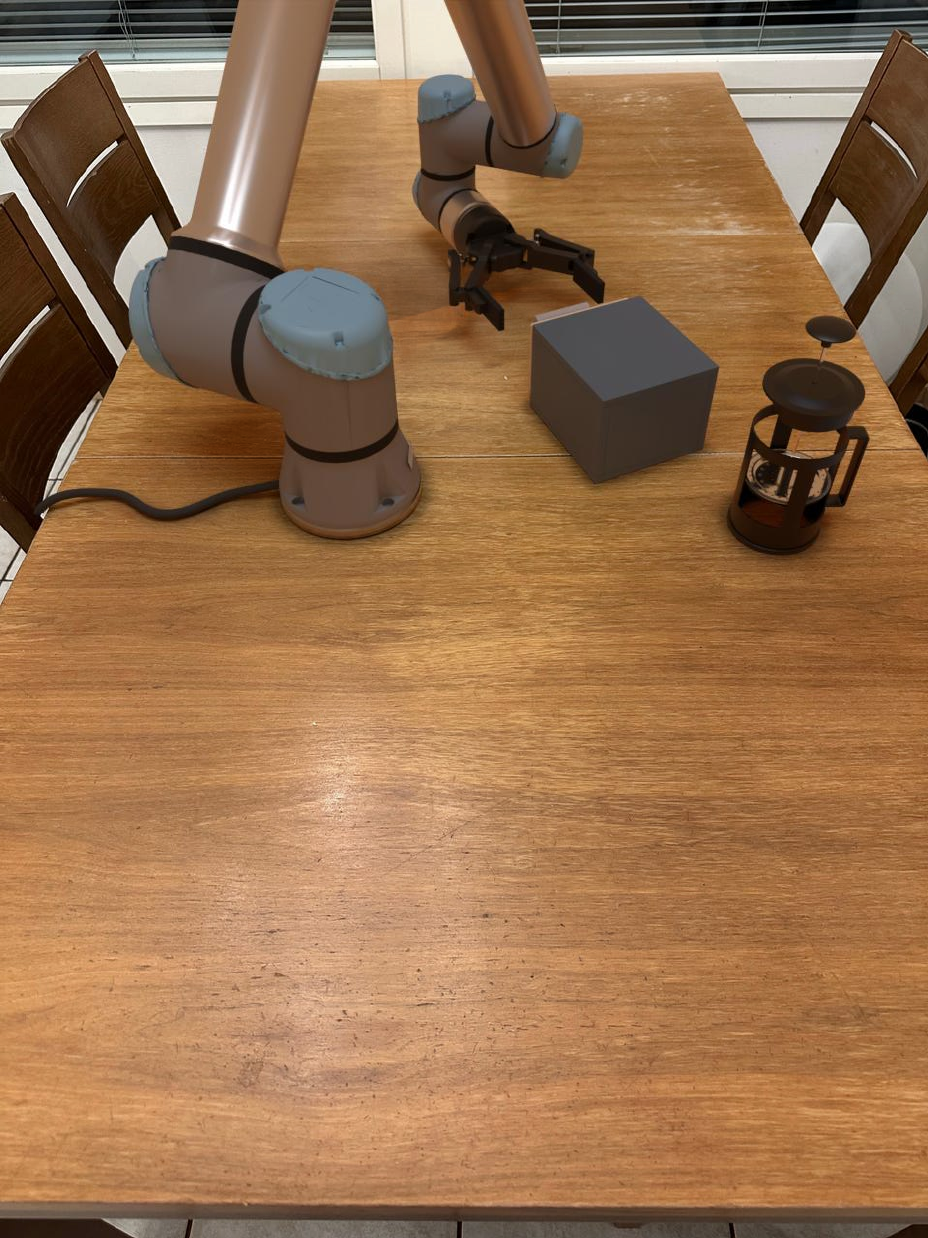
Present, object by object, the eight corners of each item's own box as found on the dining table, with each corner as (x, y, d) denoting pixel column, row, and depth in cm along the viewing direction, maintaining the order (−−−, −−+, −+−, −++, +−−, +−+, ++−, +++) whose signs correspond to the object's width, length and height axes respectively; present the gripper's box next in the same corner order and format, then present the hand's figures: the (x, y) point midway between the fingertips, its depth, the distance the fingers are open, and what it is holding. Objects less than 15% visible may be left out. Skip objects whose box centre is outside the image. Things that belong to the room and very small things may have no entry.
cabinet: (529, 405, 112) (532, 324, 104) (630, 375, 116) (640, 294, 108) (595, 484, 103) (603, 401, 95) (702, 449, 106) (719, 366, 98)
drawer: (510, 369, 116) (511, 303, 109) (600, 343, 119) (606, 277, 112) (587, 460, 104) (593, 392, 97) (685, 429, 107) (697, 361, 100)
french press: (727, 555, 95) (779, 356, 78) (713, 493, 101) (758, 296, 84) (846, 555, 95) (924, 355, 77) (824, 493, 101) (892, 295, 84)
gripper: (559, 238, 133) (638, 310, 120) (394, 279, 126) (458, 360, 114) (561, 184, 127) (645, 253, 114) (389, 224, 121) (457, 303, 108)
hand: (552, 306), depth 114 cm, fingers open, 13 cm apart
